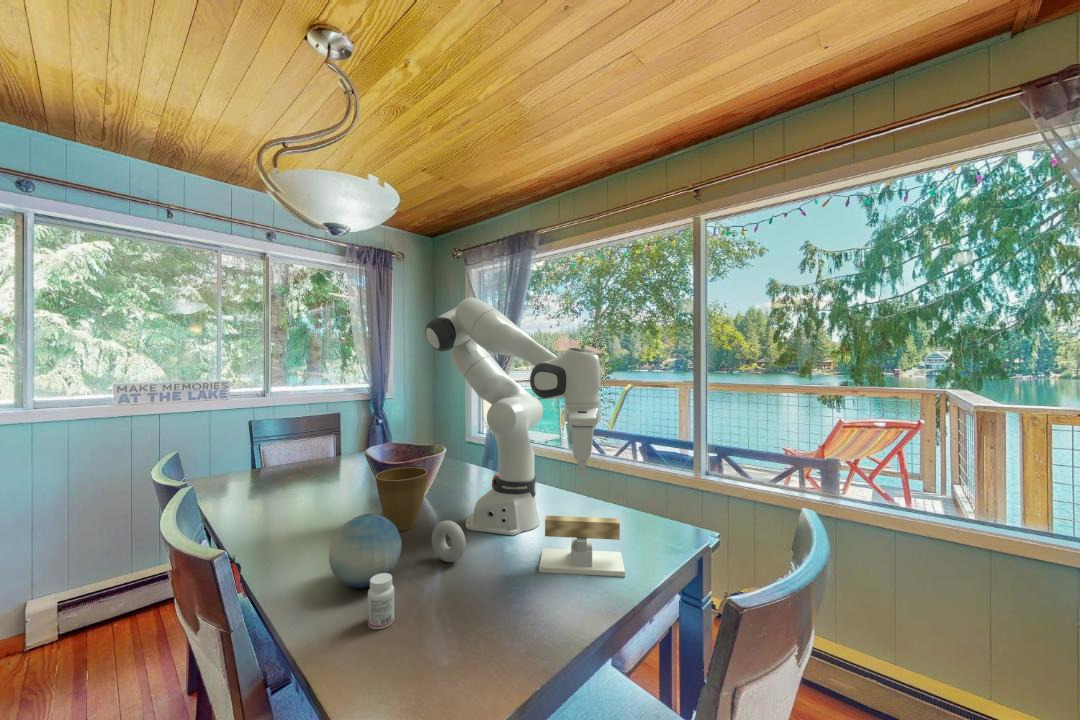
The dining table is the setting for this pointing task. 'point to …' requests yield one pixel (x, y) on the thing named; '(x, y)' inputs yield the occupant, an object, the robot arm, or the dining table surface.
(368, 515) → the decorative ball
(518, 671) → the dining table surface
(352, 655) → the dining table surface
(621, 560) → the fulcrum stand
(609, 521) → the pine bar
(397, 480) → the plant pot
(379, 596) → the pill bottle
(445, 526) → the donut
